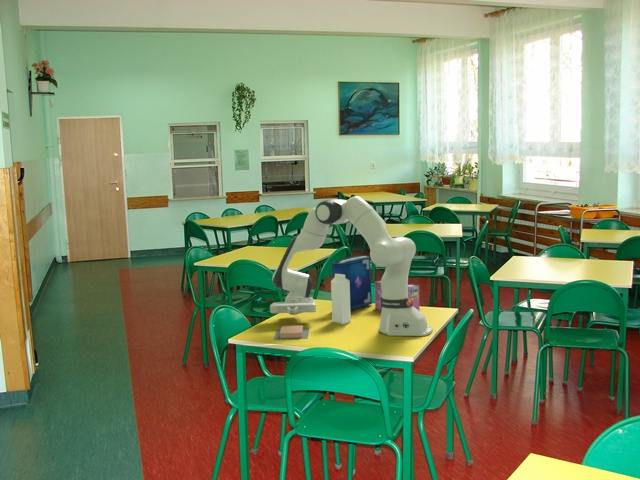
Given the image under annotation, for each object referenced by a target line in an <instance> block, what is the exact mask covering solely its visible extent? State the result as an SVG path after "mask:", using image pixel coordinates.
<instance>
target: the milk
mask: <svg viewBox="0 0 640 480" xmlns="http://www.w3.org/2000/svg"><path fill="white" fill-rule="evenodd" d="M330 291H331V293H330V295H331V296H330V297H331V320H332V323H338V324H339V325H341V326H343V325H346V324H348V323H351V322H352V320H351V319H352V317H351V310H350V282H349V280H348V279H346V278H345V275H344V274H335V277H334V279H333V278H332V279H331V281H330Z"/></svg>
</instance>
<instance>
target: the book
mask: <svg viewBox="0 0 640 480" xmlns="http://www.w3.org/2000/svg"><path fill="white" fill-rule="evenodd" d="M331 273H332V275H331V277H332V280H333V279H334V277H335V274H344V275H345V278H346V279H348V280H349V282H350V311H354V310H358V309H362V308H365V307H367V306H370V305H372V304H373V297H372V295H373V294H372V279H371V278H372V276H371V275H372V274H371V273H372V272H371V257H370V255H354V256H349V257H348V256H347V257H345V258H341V259H340V260H335V261H333V262H331ZM357 308H358V309H357ZM353 309H354V310H353Z"/></svg>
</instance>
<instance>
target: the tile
mask: <svg viewBox="0 0 640 480" xmlns="http://www.w3.org/2000/svg"><path fill="white" fill-rule="evenodd" d="M303 328H304V325H281V328H280V329H281V331H280V338H301V337H302V334H303Z"/></svg>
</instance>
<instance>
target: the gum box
mask: <svg viewBox="0 0 640 480" xmlns="http://www.w3.org/2000/svg"><path fill="white" fill-rule="evenodd" d="M381 297H382V296H381V280H379V281H376V280H375V281H374V302H375V303H374V305H375V306H374V308H375V309H378V310H381V307H380V300H381ZM408 297H409V298H411V299H412V298H413V307H415V308H416V309H417V310H418V311H420V310H421V309H420V307H421V306H420V284H417V283H411V282H408ZM420 312H421V311H420Z"/></svg>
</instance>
